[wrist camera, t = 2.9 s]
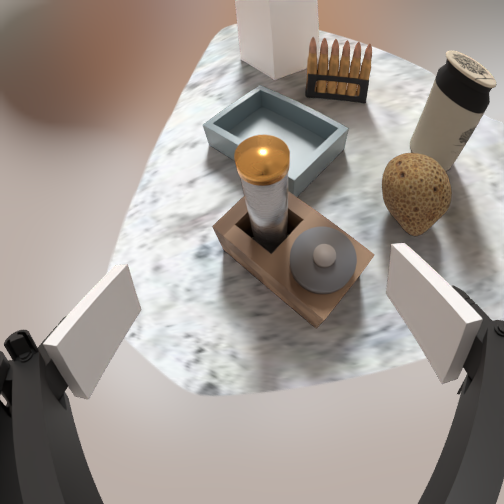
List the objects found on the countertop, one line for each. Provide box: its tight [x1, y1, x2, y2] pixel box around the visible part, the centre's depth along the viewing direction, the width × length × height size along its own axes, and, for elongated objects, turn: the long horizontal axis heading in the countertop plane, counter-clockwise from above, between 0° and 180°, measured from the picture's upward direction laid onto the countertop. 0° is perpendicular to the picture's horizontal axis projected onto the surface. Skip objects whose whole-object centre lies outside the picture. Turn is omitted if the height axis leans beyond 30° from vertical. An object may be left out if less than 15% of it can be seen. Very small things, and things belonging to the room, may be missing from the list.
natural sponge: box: [382, 153, 452, 236], centre depth 29 cm, size 9×9×10 cm
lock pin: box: [234, 135, 290, 254], centre depth 26 cm, size 4×4×16 cm
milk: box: [235, 0, 319, 80], centre depth 37 cm, size 12×12×26 cm
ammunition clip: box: [306, 37, 372, 103], centre depth 38 cm, size 11×2×12 cm, turn 84°
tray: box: [203, 85, 349, 197], centre depth 37 cm, size 16×12×4 cm
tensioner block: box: [212, 191, 374, 328], centre depth 29 cm, size 14×8×8 cm, turn 47°
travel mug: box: [410, 51, 496, 171], centre depth 29 cm, size 8×8×18 cm
